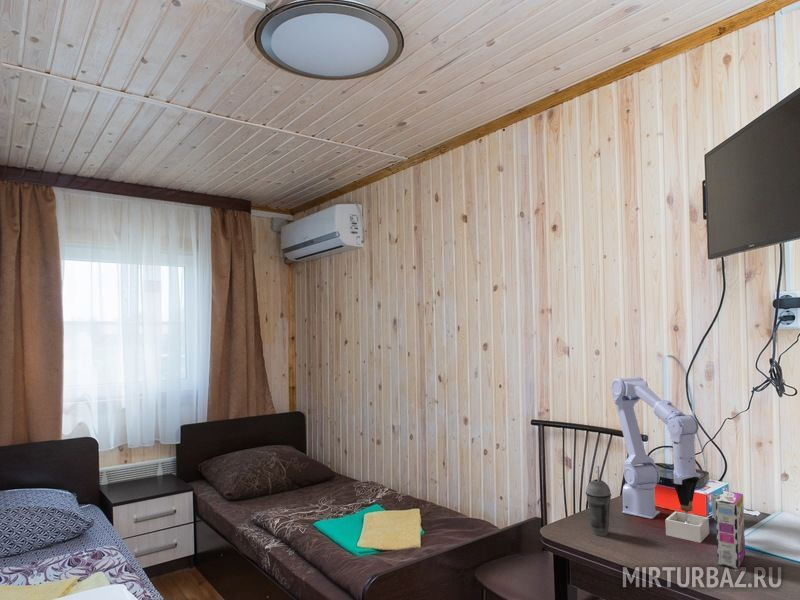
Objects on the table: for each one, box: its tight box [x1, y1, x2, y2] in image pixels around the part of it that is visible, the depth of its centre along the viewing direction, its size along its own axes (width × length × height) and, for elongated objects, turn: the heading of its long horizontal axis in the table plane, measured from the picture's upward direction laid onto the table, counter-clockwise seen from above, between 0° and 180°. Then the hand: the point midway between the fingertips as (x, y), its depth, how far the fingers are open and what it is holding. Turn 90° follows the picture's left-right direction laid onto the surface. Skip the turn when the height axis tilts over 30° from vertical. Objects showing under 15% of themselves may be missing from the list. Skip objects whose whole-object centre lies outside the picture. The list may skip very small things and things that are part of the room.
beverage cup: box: [585, 465, 612, 537], centre depth 166 cm, size 7×7×20 cm
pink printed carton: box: [715, 490, 746, 570], centre depth 145 cm, size 11×5×16 cm, turn 141°
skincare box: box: [710, 494, 721, 521], centre depth 173 cm, size 6×6×7 cm
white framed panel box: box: [664, 511, 710, 544], centre depth 164 cm, size 9×11×4 cm
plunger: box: [678, 500, 696, 525], centre depth 163 cm, size 7×7×8 cm
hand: (686, 503), depth 164 cm, fingers closed on plunger, 3 cm apart
